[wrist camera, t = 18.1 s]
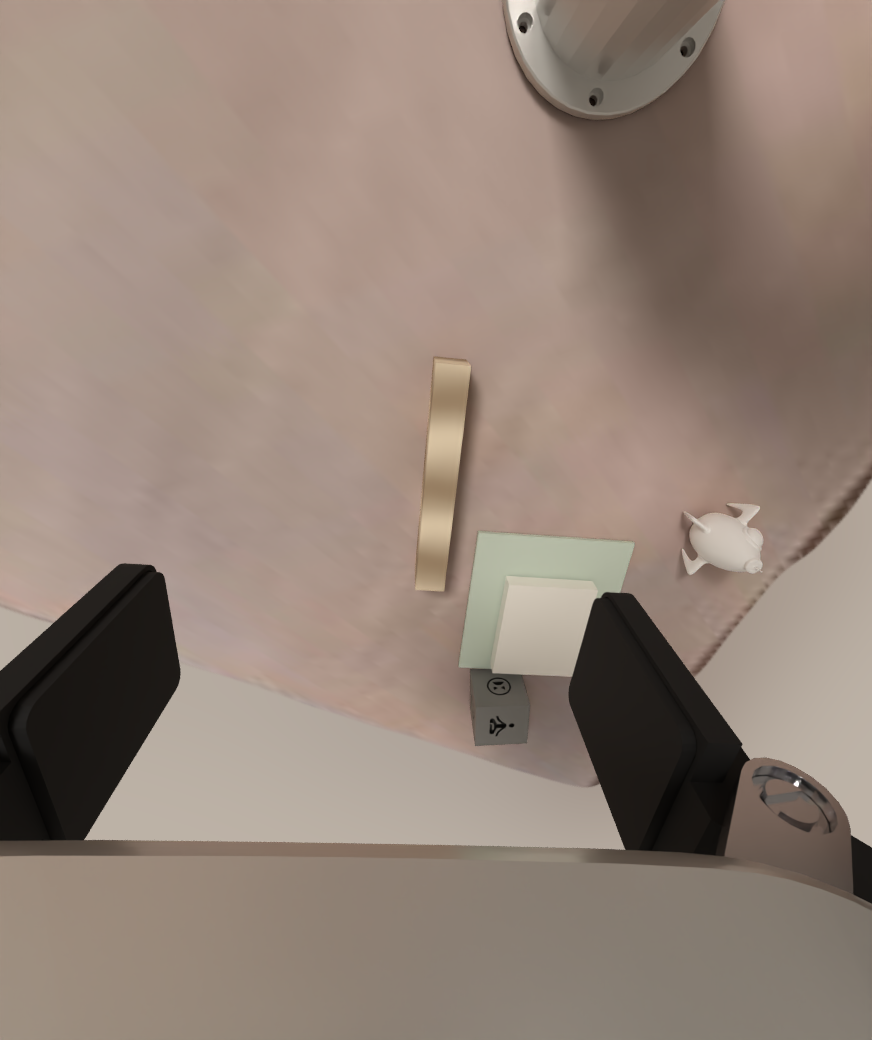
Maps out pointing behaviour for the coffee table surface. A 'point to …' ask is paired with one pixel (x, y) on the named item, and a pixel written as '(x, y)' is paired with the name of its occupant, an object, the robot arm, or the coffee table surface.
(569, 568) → the sage mat
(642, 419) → the coffee table surface
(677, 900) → the robot arm
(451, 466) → the tan wavy bar
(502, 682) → the dice cube
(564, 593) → the cream tile
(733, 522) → the rocket toy
